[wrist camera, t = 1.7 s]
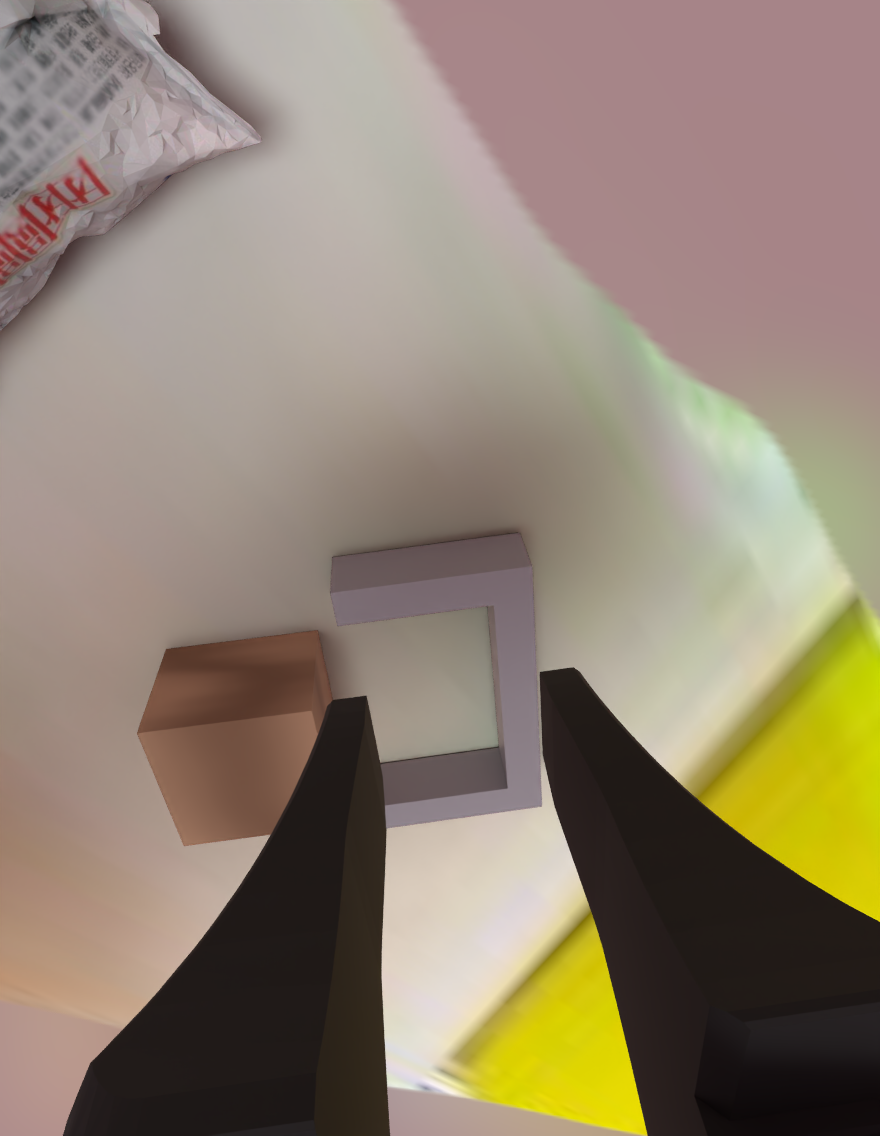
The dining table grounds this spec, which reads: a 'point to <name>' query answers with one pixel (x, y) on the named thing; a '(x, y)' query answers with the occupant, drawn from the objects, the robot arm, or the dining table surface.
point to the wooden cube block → (234, 731)
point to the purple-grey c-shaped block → (506, 587)
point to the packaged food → (90, 128)
